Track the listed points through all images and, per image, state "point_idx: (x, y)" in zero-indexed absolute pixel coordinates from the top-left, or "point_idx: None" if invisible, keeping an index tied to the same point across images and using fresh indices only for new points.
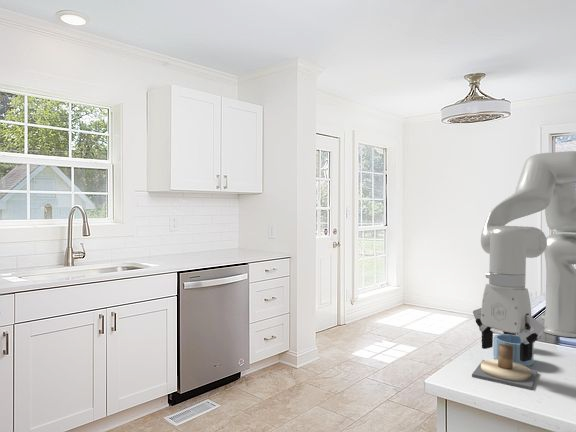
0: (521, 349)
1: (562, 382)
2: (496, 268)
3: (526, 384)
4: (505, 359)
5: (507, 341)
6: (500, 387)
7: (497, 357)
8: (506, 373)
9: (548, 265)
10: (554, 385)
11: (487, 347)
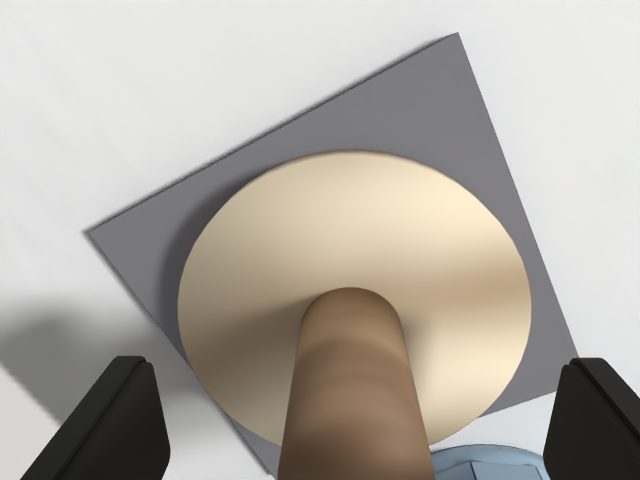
0: (60, 445)
1: None
2: None
3: (132, 241)
4: (316, 340)
5: None
6: (197, 59)
7: (533, 472)
8: (249, 221)
9: None
10: None
11: (559, 403)
